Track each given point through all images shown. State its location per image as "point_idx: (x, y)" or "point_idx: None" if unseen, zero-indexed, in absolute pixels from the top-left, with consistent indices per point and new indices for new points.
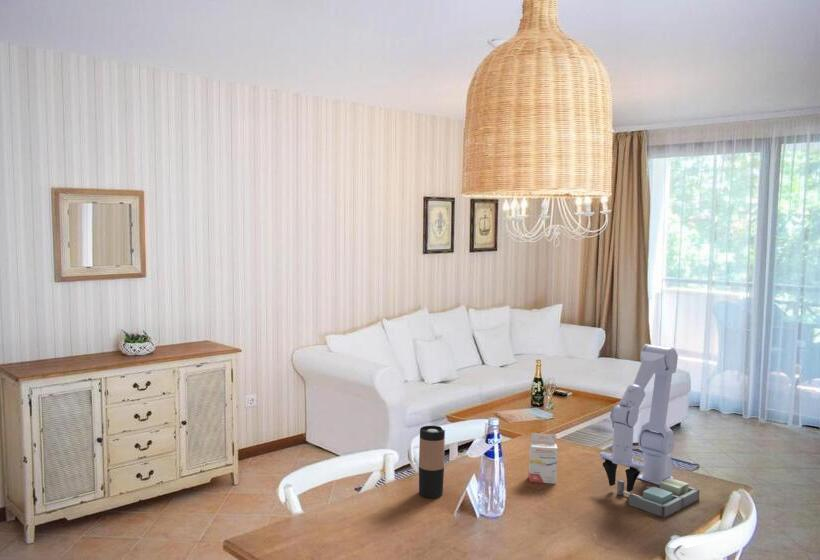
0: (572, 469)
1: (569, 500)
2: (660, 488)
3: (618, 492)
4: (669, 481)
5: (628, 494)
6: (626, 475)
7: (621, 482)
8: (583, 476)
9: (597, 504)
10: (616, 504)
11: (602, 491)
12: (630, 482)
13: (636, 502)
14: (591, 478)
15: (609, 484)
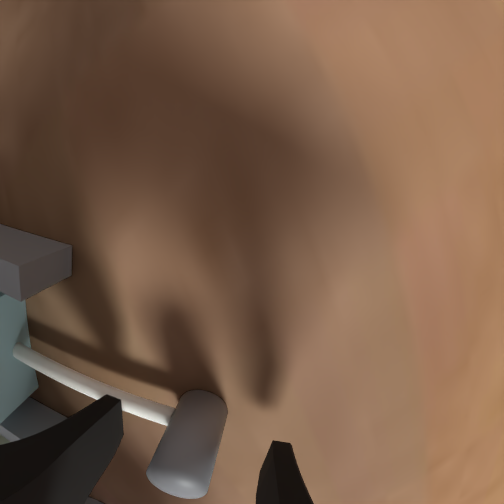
0: (499, 481)
1: (468, 36)
2: None
3: (205, 403)
4: None
5: (128, 393)
6: (26, 481)
7: (158, 464)
8: (465, 470)
9: (267, 69)
10: (135, 188)
11: (336, 382)
12: (39, 432)
13: (3, 239)
14: (428, 481)
15: (289, 447)
